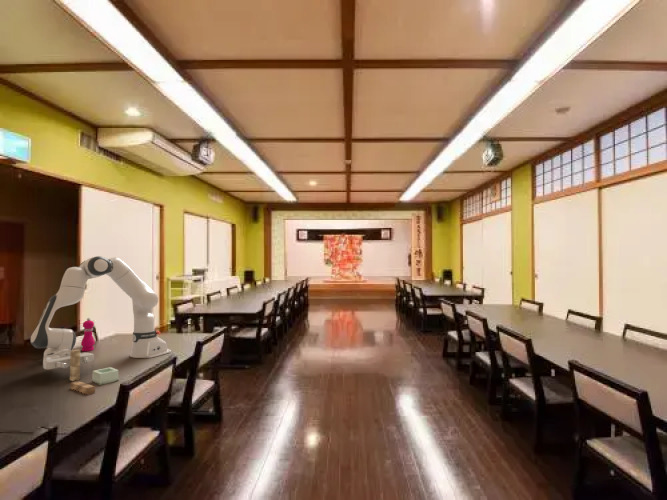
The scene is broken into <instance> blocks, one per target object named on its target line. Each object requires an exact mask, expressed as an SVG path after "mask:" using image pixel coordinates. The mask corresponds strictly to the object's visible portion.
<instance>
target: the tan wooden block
mask: <svg viewBox="0 0 667 500" xmlns="http://www.w3.org/2000/svg"><path fill="white" fill-rule="evenodd" d="M80 353H81V349H72V350H71V354H70V366H69V381H71V382H76V381H79V380H80V375H81V374H80V373H81V363H80ZM75 380H76V381H75Z"/></svg>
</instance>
